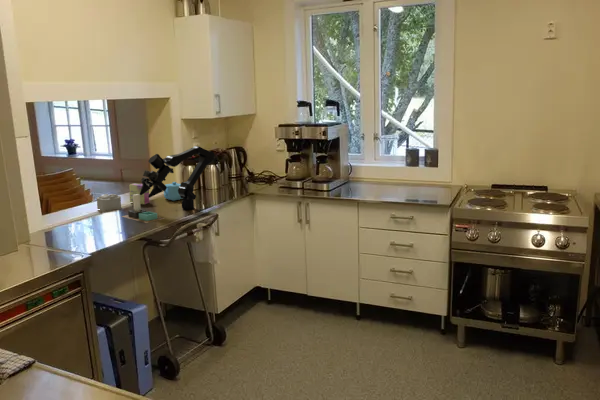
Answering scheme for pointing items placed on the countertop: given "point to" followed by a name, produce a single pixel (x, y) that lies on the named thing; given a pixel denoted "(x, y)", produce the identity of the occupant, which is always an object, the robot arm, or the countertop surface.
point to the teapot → (172, 191)
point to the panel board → (135, 216)
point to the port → (148, 216)
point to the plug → (136, 203)
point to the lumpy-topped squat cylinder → (108, 202)
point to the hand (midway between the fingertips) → (144, 196)
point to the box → (136, 189)
